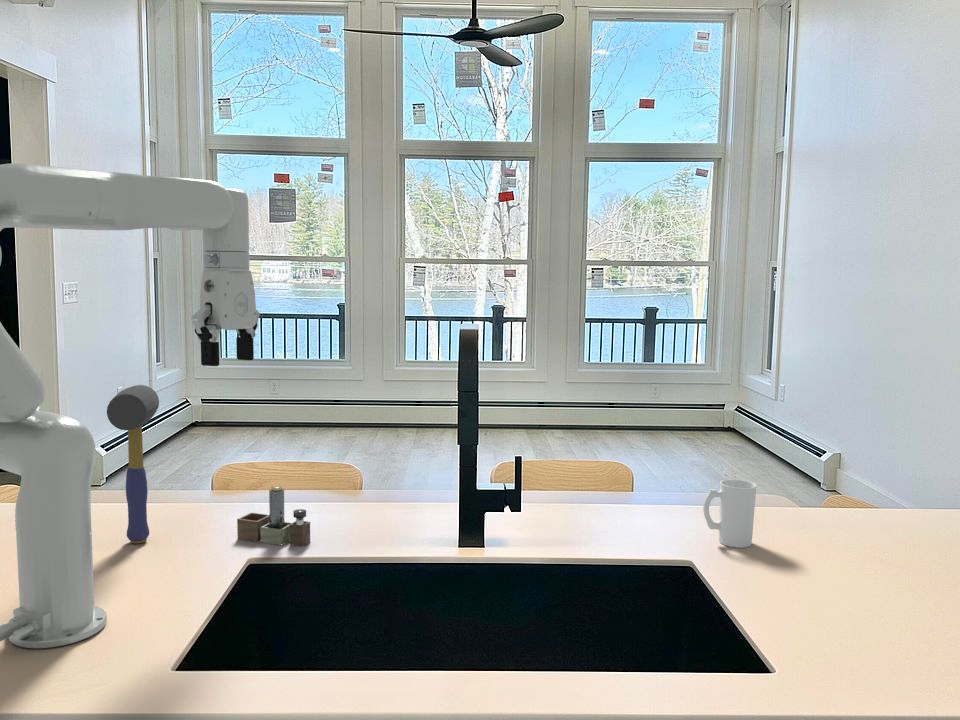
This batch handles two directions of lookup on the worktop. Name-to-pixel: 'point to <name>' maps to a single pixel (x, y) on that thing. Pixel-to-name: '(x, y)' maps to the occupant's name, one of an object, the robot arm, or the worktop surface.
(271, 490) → the gray yellow-capped cylinder
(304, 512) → the round dark gray knob
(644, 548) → the worktop surface
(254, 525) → the compartment holder
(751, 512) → the mug
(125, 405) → the rubber mallet
